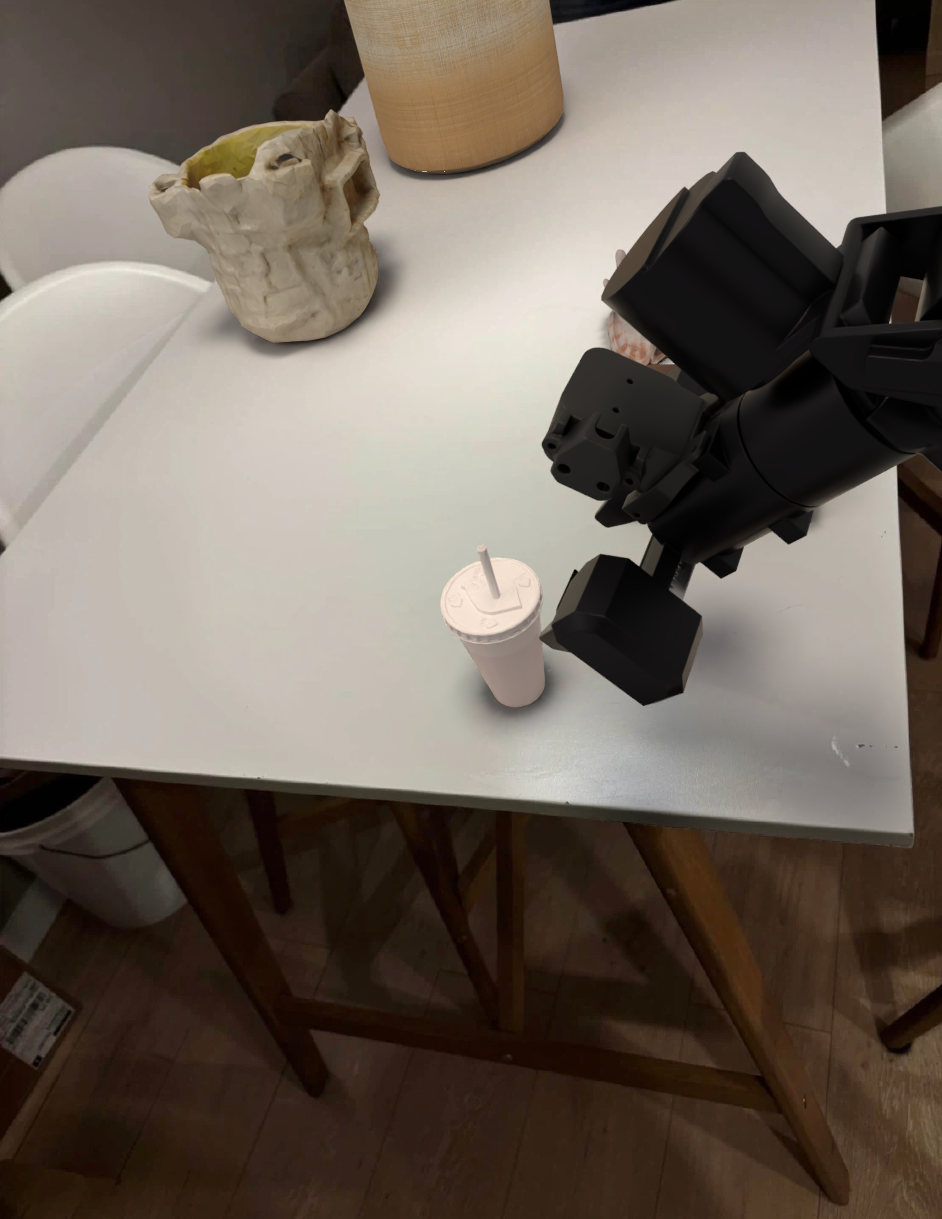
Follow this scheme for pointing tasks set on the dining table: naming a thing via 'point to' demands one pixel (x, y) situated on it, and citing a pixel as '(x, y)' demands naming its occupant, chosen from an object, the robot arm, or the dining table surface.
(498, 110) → the planter
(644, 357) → the seashell
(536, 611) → the smoothie
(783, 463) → the robot arm
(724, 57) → the dining table surface
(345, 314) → the ceramic vessel
